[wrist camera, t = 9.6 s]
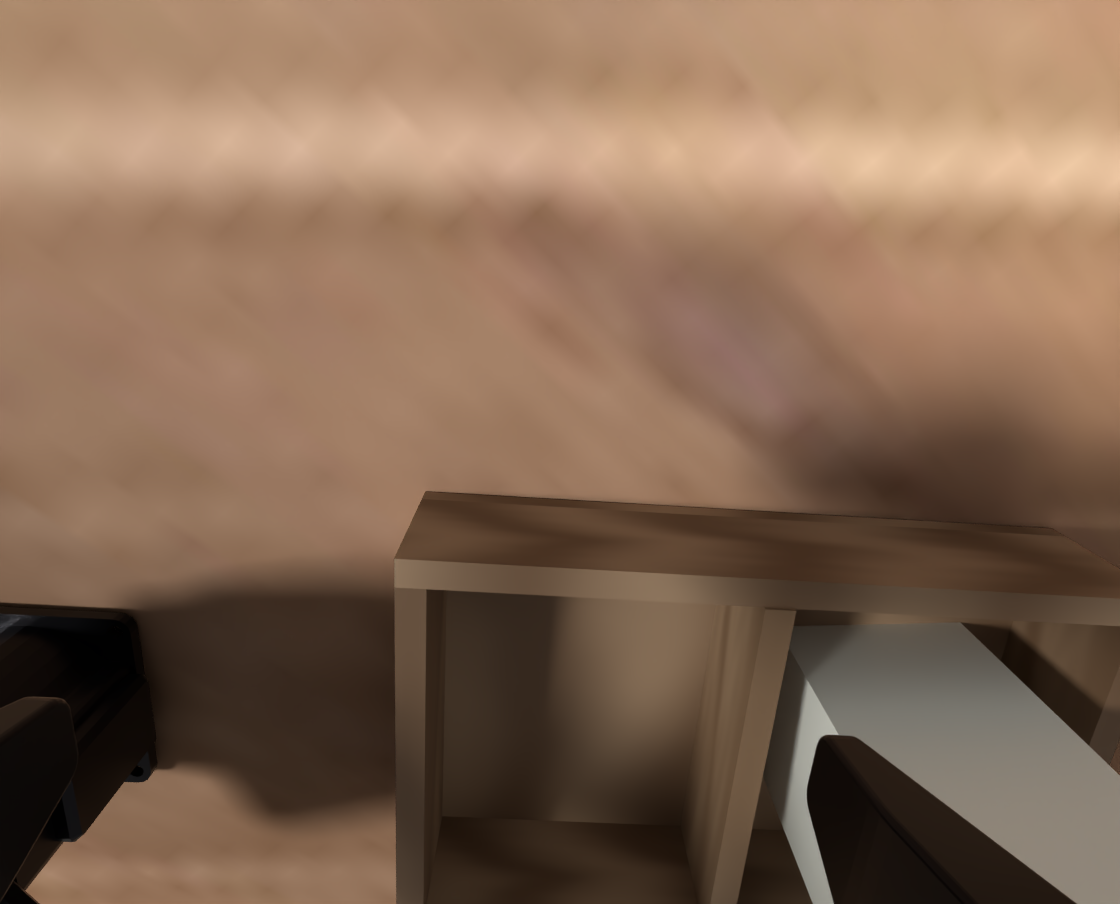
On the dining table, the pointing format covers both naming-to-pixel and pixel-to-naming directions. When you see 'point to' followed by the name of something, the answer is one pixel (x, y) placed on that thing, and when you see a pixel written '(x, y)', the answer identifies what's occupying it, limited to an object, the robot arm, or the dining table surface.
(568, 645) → the crate
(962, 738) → the box
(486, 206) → the dining table surface
